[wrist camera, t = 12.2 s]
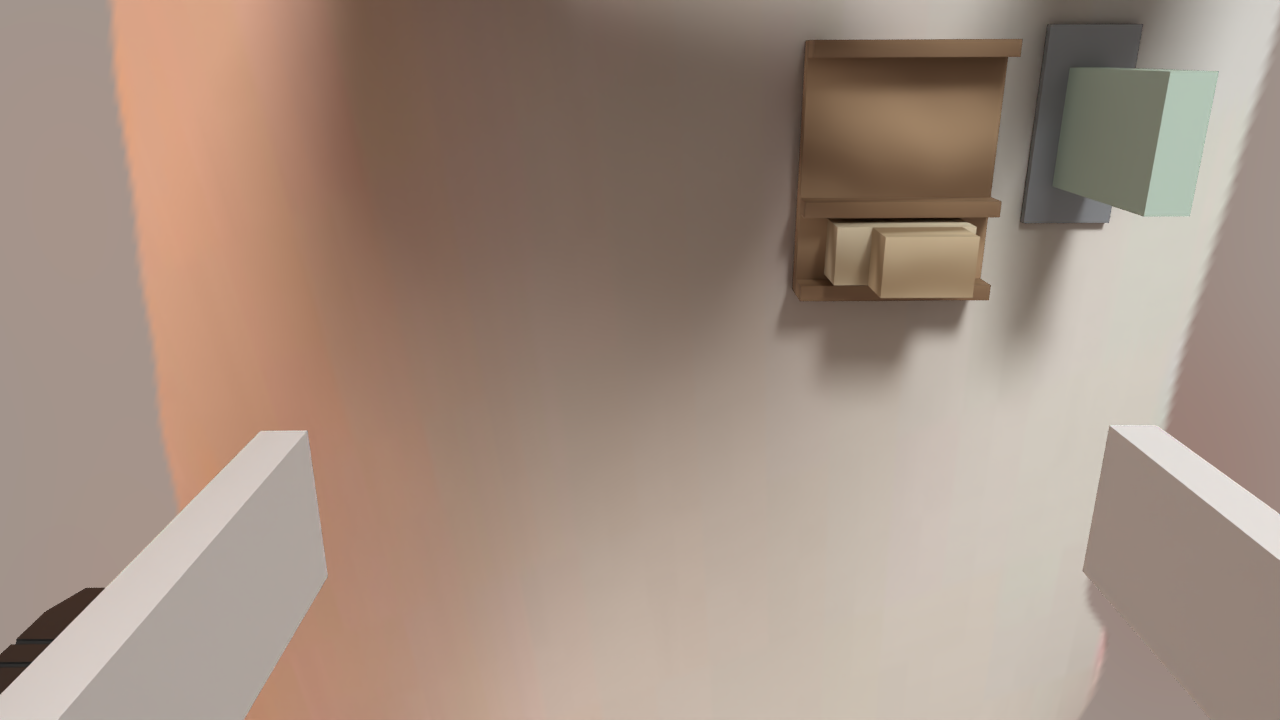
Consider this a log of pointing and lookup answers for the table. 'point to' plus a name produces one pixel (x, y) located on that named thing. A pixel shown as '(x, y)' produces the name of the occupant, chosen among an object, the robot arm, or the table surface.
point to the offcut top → (923, 262)
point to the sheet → (1134, 137)
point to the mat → (1060, 54)
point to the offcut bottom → (866, 244)
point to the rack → (896, 143)
